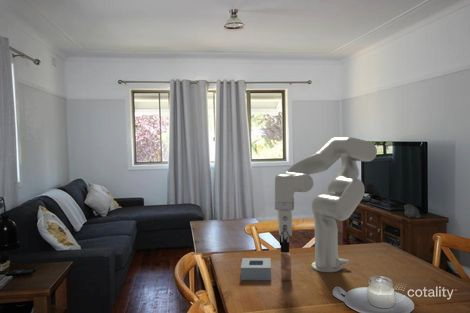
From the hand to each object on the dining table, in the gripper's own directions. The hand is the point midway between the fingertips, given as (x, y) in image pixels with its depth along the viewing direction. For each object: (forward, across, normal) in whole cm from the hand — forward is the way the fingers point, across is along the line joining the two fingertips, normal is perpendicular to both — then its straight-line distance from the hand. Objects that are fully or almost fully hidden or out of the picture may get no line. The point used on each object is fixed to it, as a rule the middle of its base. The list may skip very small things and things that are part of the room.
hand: (284, 248), depth 152 cm
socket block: (+13, +6, +11) cm, 18 cm away
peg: (+12, +1, -1) cm, 13 cm away
